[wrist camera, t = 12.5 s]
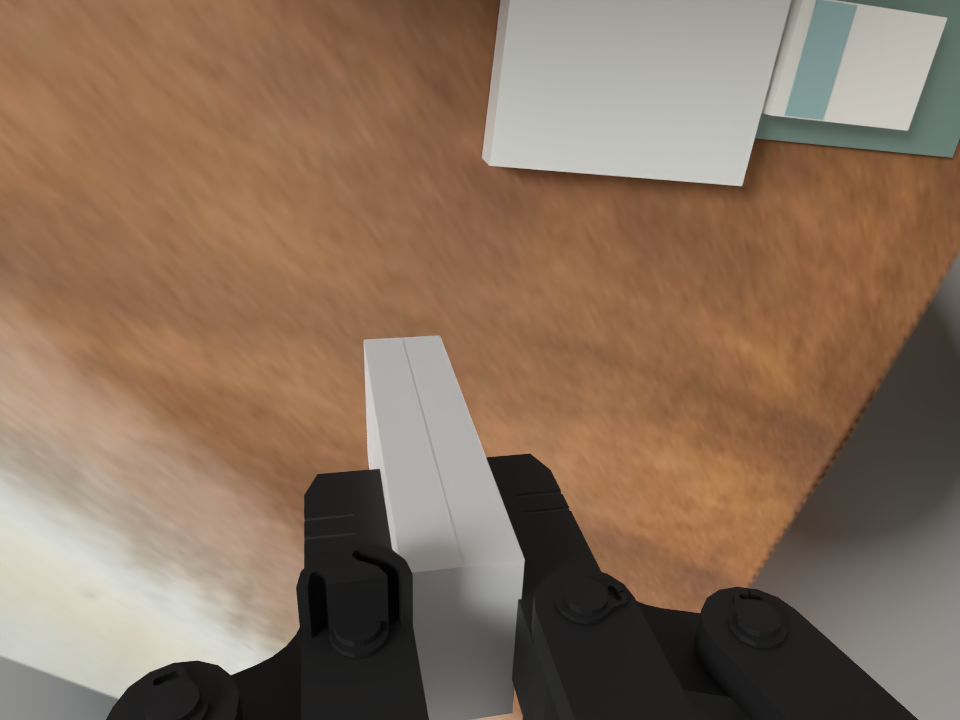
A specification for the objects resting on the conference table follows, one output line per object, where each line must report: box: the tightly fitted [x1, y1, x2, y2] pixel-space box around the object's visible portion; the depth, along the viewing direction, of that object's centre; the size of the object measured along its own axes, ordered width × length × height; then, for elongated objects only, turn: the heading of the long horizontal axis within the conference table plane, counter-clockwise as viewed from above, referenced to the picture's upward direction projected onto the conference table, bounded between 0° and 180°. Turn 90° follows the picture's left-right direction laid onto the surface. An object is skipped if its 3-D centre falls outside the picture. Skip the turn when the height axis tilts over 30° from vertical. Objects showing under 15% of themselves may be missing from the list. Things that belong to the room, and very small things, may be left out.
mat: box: [755, 0, 960, 158], centre depth 43 cm, size 14×15×1 cm
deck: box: [482, 0, 791, 186], centre depth 40 cm, size 14×15×2 cm
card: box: [762, 0, 947, 131], centre depth 42 cm, size 6×9×2 cm, turn 83°
